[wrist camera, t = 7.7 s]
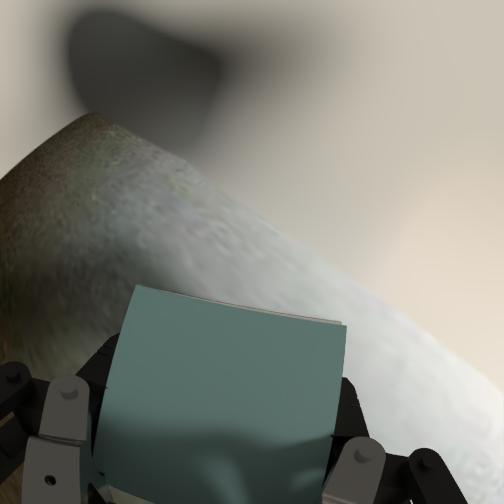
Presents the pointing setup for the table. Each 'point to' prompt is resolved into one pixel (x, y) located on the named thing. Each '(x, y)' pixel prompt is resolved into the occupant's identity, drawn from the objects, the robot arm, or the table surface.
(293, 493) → the teal block
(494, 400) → the table surface
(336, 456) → the robot arm
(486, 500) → the table surface
